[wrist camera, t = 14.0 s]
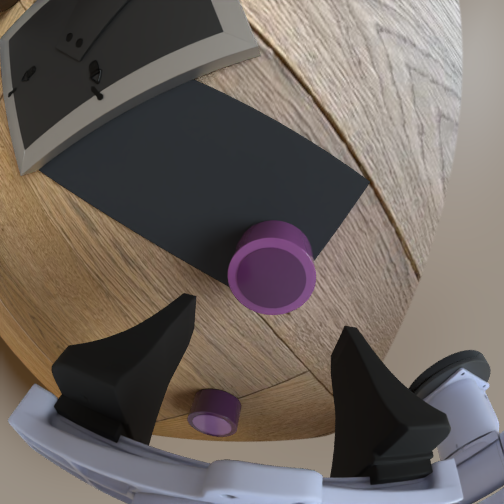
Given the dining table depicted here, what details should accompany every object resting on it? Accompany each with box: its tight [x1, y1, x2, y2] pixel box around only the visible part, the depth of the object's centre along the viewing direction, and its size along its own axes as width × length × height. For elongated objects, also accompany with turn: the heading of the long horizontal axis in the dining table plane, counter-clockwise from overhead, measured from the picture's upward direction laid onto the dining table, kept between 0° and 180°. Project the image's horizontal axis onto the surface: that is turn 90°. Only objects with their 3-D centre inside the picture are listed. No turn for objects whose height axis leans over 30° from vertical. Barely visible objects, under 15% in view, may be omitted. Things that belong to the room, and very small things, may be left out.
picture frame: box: [0, 0, 261, 176], centre depth 13 cm, size 16×3×21 cm
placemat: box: [39, 79, 370, 287], centre depth 18 cm, size 28×12×1 cm, turn 60°
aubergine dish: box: [187, 389, 241, 437], centre depth 28 cm, size 5×5×3 cm
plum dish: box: [228, 220, 316, 315], centre depth 19 cm, size 5×5×3 cm
